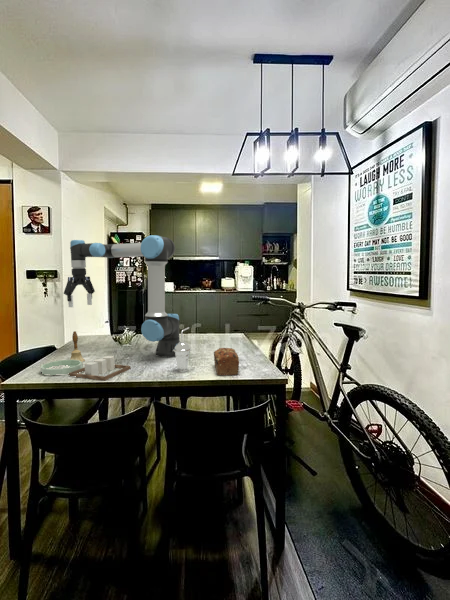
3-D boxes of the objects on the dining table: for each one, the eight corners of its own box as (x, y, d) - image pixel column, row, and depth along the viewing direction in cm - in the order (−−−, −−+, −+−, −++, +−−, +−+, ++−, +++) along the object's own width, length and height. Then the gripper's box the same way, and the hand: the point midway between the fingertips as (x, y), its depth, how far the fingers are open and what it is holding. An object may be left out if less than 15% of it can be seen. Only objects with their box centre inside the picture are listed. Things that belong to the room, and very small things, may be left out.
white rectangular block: (98, 375, 162) (98, 362, 161) (91, 378, 158) (91, 364, 157) (92, 374, 163) (91, 361, 163) (85, 377, 160) (84, 363, 159)
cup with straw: (170, 369, 170) (169, 328, 168) (188, 366, 174) (187, 326, 173) (177, 374, 162) (176, 330, 161) (195, 371, 167) (194, 328, 165)
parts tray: (130, 368, 172) (130, 365, 172) (104, 380, 154) (104, 377, 154) (97, 365, 178) (97, 362, 178) (68, 376, 161) (68, 373, 161)
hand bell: (78, 363, 182) (77, 333, 181) (64, 363, 184) (62, 332, 183) (88, 359, 191) (86, 330, 189) (74, 359, 192) (72, 329, 191)
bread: (239, 375, 160) (239, 353, 159) (215, 376, 159) (215, 354, 158) (234, 364, 178) (234, 344, 177) (213, 365, 177) (213, 345, 177)
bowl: (89, 367, 176) (89, 361, 175) (62, 377, 159) (62, 371, 159) (61, 364, 181) (61, 358, 181) (32, 374, 165) (32, 367, 165)
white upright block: (114, 368, 174) (114, 356, 173) (111, 370, 170) (110, 358, 169) (107, 368, 174) (106, 355, 174) (103, 370, 170) (102, 357, 170)
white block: (107, 371, 168) (106, 359, 167) (102, 374, 164) (101, 361, 163) (99, 371, 169) (98, 358, 168) (94, 373, 165) (94, 360, 164)
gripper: (90, 268, 212) (92, 303, 214) (55, 268, 190) (57, 308, 191) (100, 268, 209) (101, 304, 211) (65, 268, 186) (67, 308, 188)
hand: (80, 306), depth 201 cm, fingers open, 13 cm apart
